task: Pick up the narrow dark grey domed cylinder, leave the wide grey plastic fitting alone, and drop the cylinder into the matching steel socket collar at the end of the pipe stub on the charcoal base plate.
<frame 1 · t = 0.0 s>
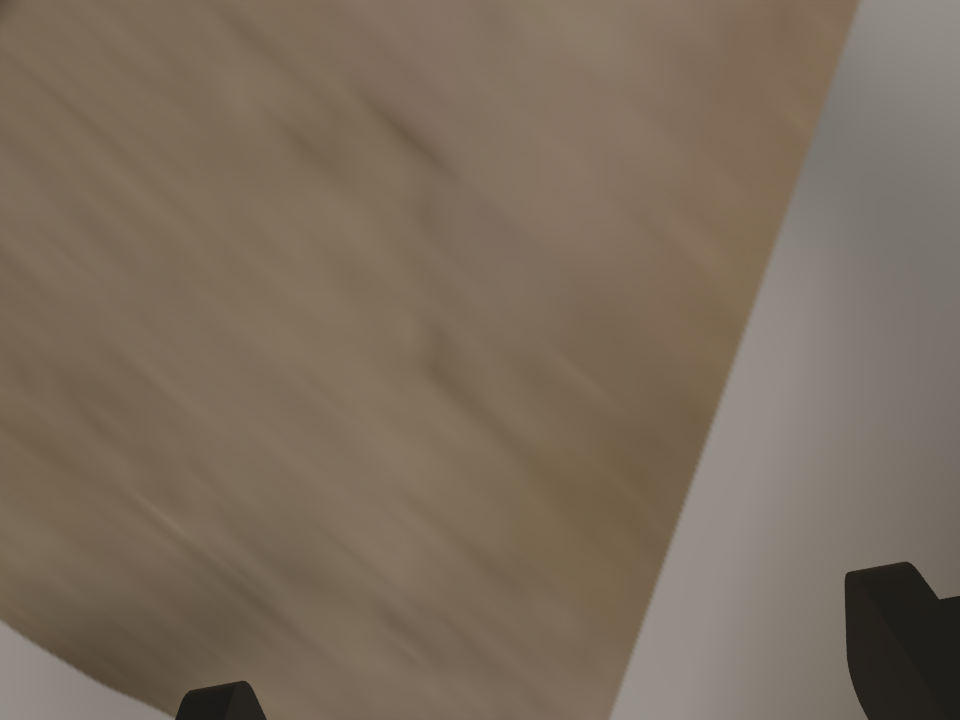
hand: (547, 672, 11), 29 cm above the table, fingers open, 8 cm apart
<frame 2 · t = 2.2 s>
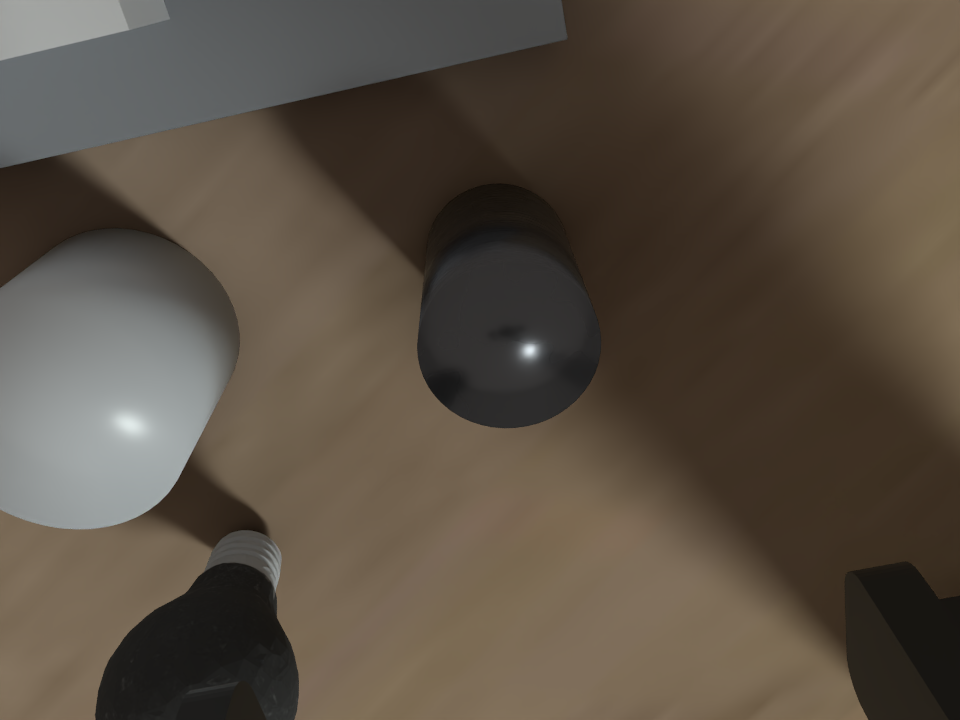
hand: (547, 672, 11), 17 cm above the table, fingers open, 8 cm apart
light bulb: (253, 539, 32), on the table
dark grey domed cylinder: (497, 253, 27), on the table
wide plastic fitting: (133, 329, 28), on the table
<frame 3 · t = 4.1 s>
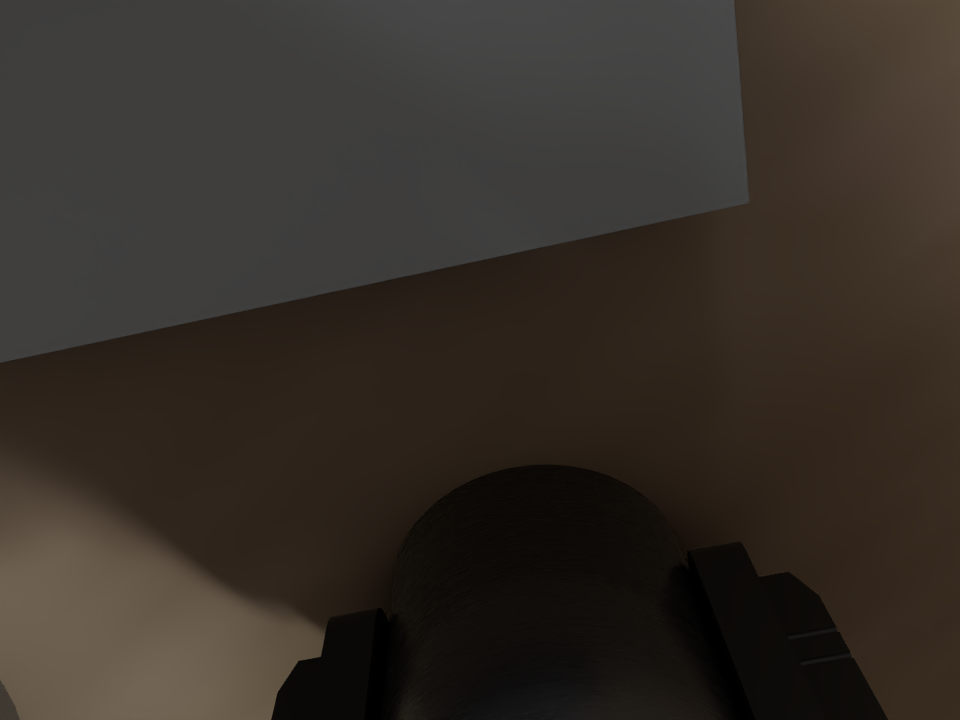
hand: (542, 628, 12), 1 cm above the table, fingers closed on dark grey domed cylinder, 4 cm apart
dark grey domed cylinder: (538, 588, 13), on the table, touching gripper
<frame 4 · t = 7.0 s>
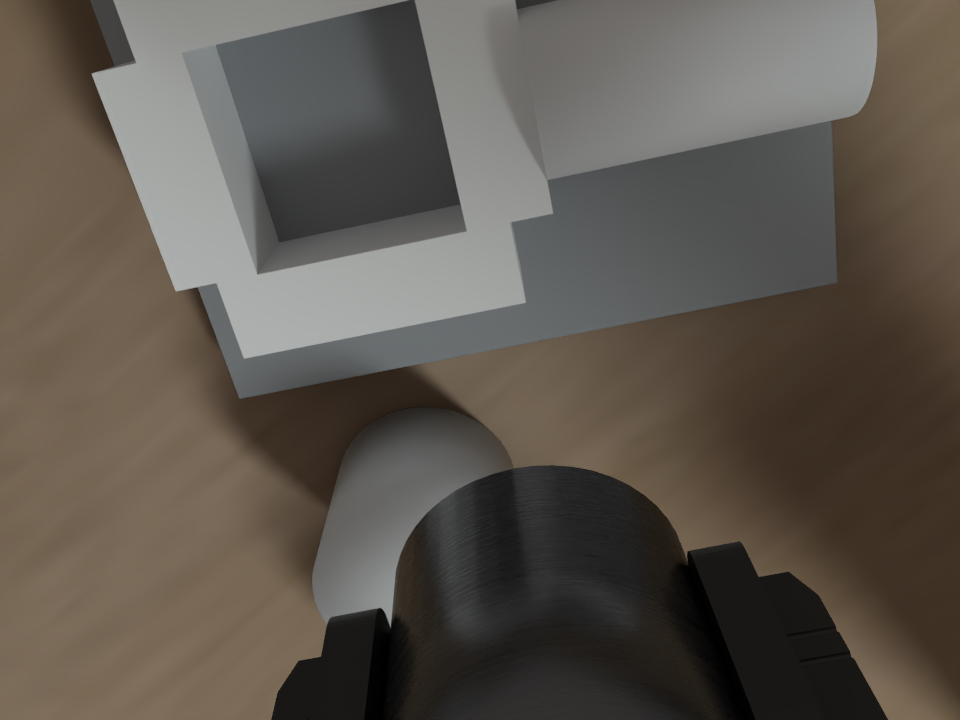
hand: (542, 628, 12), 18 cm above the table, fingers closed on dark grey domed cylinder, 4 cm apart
socket block: (478, 86, 27), on the table
dark grey domed cylinder: (540, 588, 13), point 17 cm above the table, touching gripper
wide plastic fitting: (427, 484, 33), on the table
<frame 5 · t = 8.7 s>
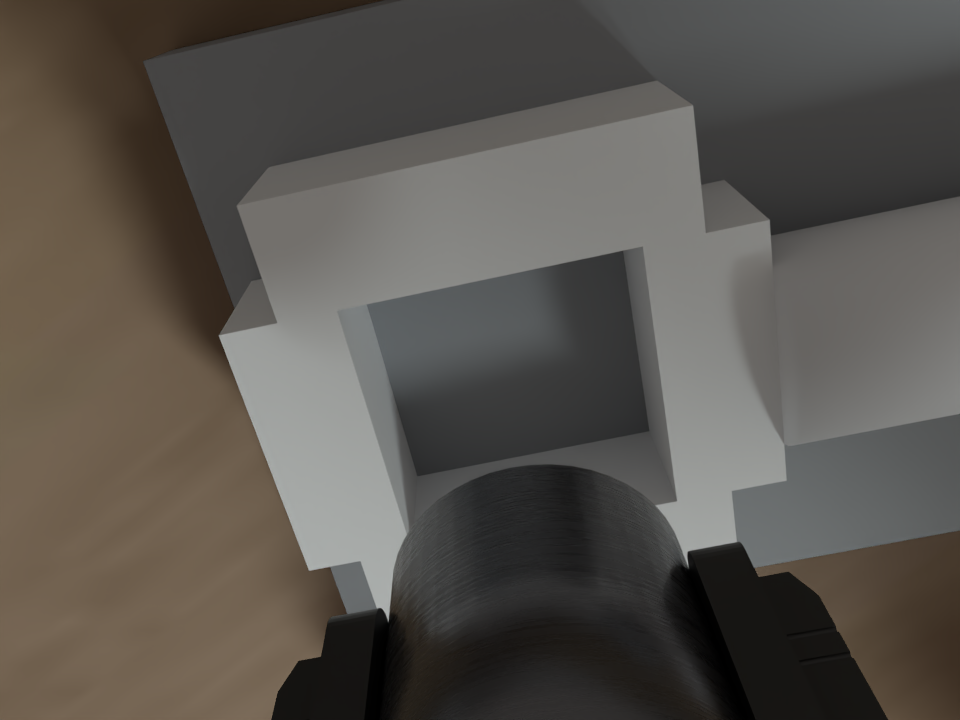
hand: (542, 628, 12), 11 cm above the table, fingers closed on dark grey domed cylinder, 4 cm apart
socket block: (657, 285, 22), on the table
dark grey domed cylinder: (538, 587, 13), point 10 cm above the table, touching gripper
when the fingers open (6 cm above the table, at t = 10.0 s): dark grey domed cylinder drops 3 cm, resting on socket block.
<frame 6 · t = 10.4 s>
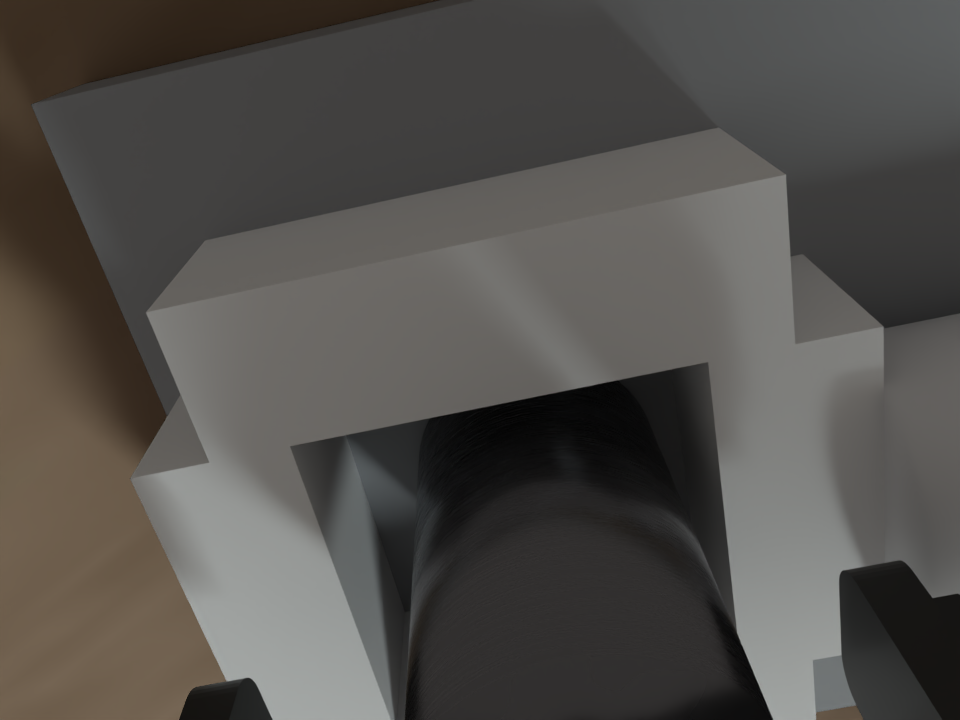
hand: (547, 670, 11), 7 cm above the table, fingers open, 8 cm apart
socket block: (704, 372, 18), on the table
dark grey domed cylinder: (536, 461, 16), point 2 cm above the table, touching socket block
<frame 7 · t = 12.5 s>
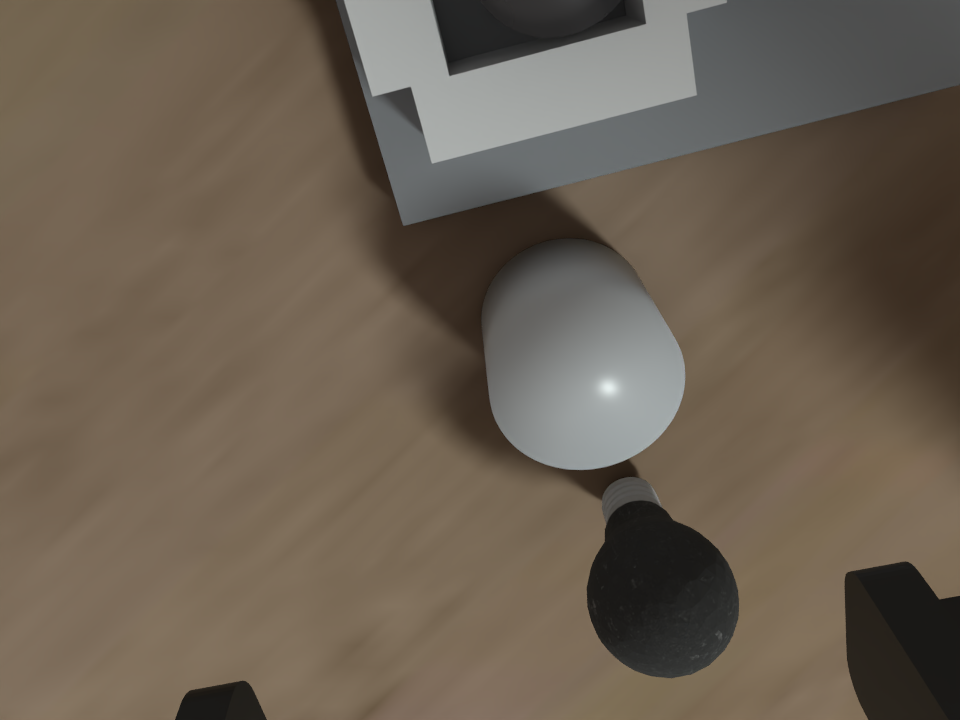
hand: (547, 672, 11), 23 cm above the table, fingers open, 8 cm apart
light bulb: (624, 486, 39), on the table
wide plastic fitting: (564, 317, 35), on the table
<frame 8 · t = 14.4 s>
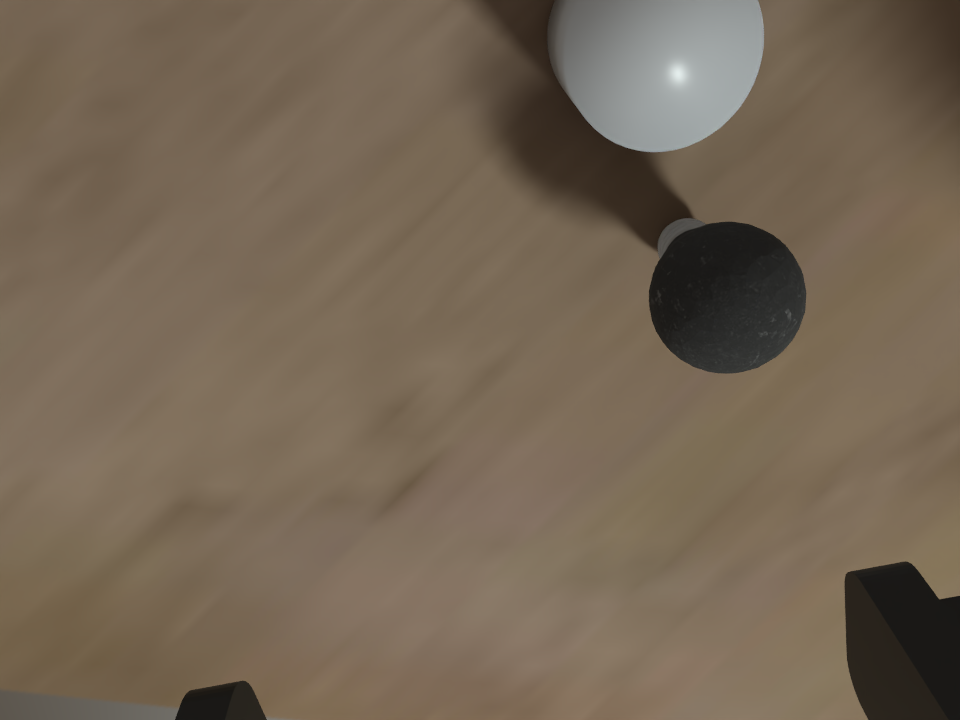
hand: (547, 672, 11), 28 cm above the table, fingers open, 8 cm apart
light bulb: (678, 237, 38), on the table
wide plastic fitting: (630, 34, 34), on the table
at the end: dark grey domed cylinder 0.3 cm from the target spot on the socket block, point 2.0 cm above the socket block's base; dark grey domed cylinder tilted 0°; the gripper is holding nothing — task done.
